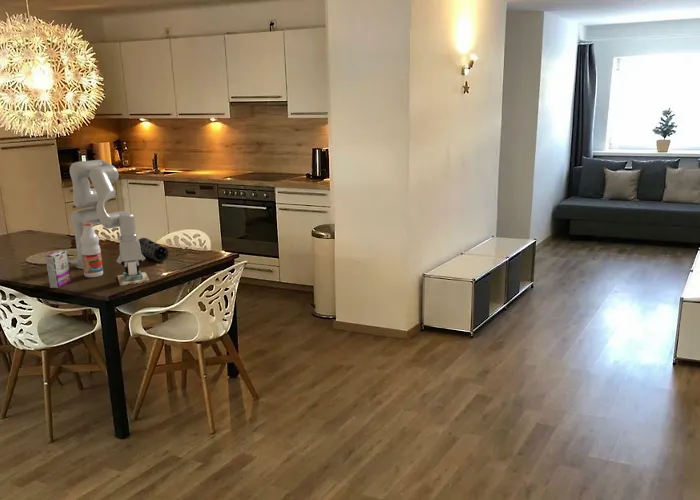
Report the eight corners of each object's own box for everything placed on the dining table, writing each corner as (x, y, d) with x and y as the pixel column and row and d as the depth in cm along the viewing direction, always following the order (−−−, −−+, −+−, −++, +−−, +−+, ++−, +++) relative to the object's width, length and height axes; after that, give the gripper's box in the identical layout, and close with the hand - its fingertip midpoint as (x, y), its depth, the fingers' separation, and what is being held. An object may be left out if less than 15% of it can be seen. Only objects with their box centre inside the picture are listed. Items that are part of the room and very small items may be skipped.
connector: (129, 277, 322) (127, 262, 320) (128, 273, 327) (126, 259, 325) (137, 275, 323) (135, 261, 322) (136, 272, 329) (134, 258, 327)
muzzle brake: (153, 265, 352) (151, 247, 350) (134, 255, 374) (133, 238, 371) (170, 262, 358) (168, 244, 356) (150, 252, 379) (149, 235, 377)
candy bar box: (62, 281, 325) (58, 250, 321) (71, 281, 324) (67, 250, 320) (49, 288, 314) (44, 256, 310) (58, 288, 313) (54, 256, 309)
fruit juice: (93, 272, 341) (87, 220, 334) (107, 273, 338) (101, 221, 331) (80, 276, 332) (73, 224, 325) (94, 278, 329) (88, 225, 322)
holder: (120, 285, 316) (119, 279, 315) (117, 277, 330) (116, 271, 330) (149, 281, 321) (148, 276, 321) (145, 273, 336) (145, 268, 335)
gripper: (111, 241, 314) (115, 277, 319) (146, 237, 320) (150, 272, 325) (110, 238, 321) (114, 273, 325) (145, 234, 327) (148, 269, 332)
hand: (132, 272), depth 325 cm, fingers closed on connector, 3 cm apart
